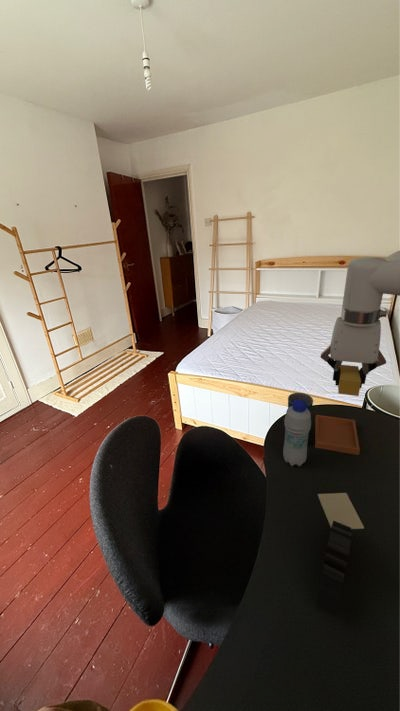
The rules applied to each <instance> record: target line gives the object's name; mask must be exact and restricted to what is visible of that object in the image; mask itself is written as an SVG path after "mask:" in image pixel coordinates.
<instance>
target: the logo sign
mask: <svg viewBox="0 0 400 711" xmlns="http://www.w3.org/2000/svg"><path fill="white" fill-rule="evenodd" d="M352 539H353V533H352V529H351V527H348V526H346V525H343V524H341V523H338V522H336V521H334V520H333V524H332V526H331V527H330V530H329V536H328V540H327V545H326V550H325V555H324V561H323V565H322V566H323V567H322V572H321V576H320V581H319V585H318V590H317V594H316V600H315V605H314V607H315V608H316V609H319V610H321V611H322V612H324V613H326V614H327V615H330V616H331V617H334V618H335V619H338V615H339V609H340V604H341V599H342V593H343V587H344V579H345V574H346V570H347V566H348V560H349V556H350V552H351V545H352V541H353V540H352Z"/></svg>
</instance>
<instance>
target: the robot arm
mask: <svg viewBox="0 0 400 711" xmlns="http://www.w3.org/2000/svg"><path fill="white" fill-rule="evenodd" d="M384 295H393V296H398V297H399V296H400V250H398V251H395V252H392V253H391V254H389V255H388V256H386V257H385V258H383V257H379V256H360V257H355V258H352V259H351V260H350V261H349V263H348V264H347V270H346V276H345V284H344V291H343V297H342V304H341V312H340V316H338V317H337V318H336V320H335V323H334V325H333V330H332V334H331V341H330V344H329V345H328V346H327V347H326V348H325V349H324V350H323V351H321V353H320V359H322V361H324V362H326V363H327V365H329V366H330V367H331V368H332V370H333V373H332V381H333V382H334V381H335V382H334V383H335V384H334V385H335V386H337V387H338V385H339V379H340V374H341V371H340V366H341V365H343V362H348V363H356V364H357V363H358V364H361V368H359V374H360V379H361V385H360V389H362V388H363V385H366V379H367V375H369V373H370V372H372V371H373V370H376V369H377V368H378V367H381V366H384V365H386V364H387V360H386V358H385V356H384V355H383V353H382V352H381V350H380V347H381V346H380V345H381V336H382V335H381V334H382V326H381V324H382V323H381V320H380V319H381V318H387V315H388V310H382V309H381V306H382V301H383V296H384Z"/></svg>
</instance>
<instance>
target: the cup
mask: <svg viewBox="0 0 400 711" xmlns="http://www.w3.org/2000/svg"><path fill="white" fill-rule="evenodd" d="M295 400H303V401H305V403H306V408H307V409H308V410H309V411H310V413H311V414H312V409H313V404H314V399H313V397H312V396H311V395H309V394H306V393H303V392H293V393H290V394H289V395H288V396H287V409H288V408H289V407H291V406H292V405H293V402H294V401H295Z"/></svg>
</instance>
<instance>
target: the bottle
mask: <svg viewBox="0 0 400 711" xmlns="http://www.w3.org/2000/svg"><path fill="white" fill-rule="evenodd" d="M311 414H312V412H311V413H310V411H309V410H308V409H307V408H306V403H305V401H303V400H295V401H294V402H293V405H292V406H291V407H289V408H288V407H287V409H286V412H285V417H284V420H283V421H284V428H285V431H284V442H283V449H282V455H283V459H284V462H285V463H287V464H288V463H289V465H290V466H291V467H294V466H295V465H296V466H297V467H301V466H303V464H305V463H306V461H307V457H308V441H309V433H310V430H311V427H312V416H311Z"/></svg>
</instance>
